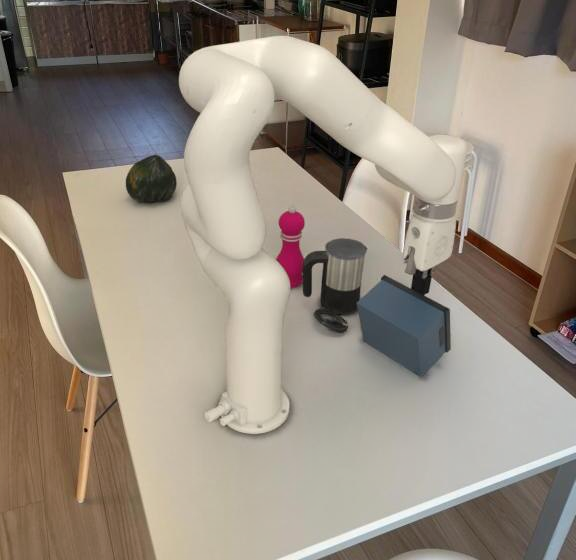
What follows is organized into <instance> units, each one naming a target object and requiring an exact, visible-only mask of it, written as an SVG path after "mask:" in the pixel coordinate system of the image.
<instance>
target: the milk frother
mask: <svg viewBox="0 0 576 560" xmlns="http://www.w3.org/2000/svg"><path fill="white" fill-rule="evenodd" d="M324 248H325V250H315V251H311V252H309V253H308V254H306V256H305V257H303V258H304V260H303V266H302V268H303V273H302V275H303V278H302V293H303V294H302V295H303V296H304V297H306V298H310V297H311V296H312V295H313V294H312V293H313V267H314V266H315V265H316V264H322V275H321V286H320V301H319V302H320V306H321V307H322V308H317V309H315V310H314V312H313V317H314V318H315V319H316V321H317V322H319V323H320V325H322V326H324V327H325V328H327V329H329V330H331V331H333V332H339V333H344V332H346V331H347V330H348V328H349V324H348V322H347V320H346V318H344V317H342V316H340V315H350V314H353V313H355V312H358V309H357V302H358V301H359V300H360V299H361V288H362V280H363V272H364V265H365V257H366V254H367V252H368V247H367V246H366V245H365V244H364V243H363V242H362V241H359V240H356V239H352V238H345V237H343V238H342V237H340V238H334V239H331V240H329V241H327V242H326V243H325V245H324ZM322 315H325V316H329V317H332V318H330V319H329V318H324V317H323V316H322Z"/></svg>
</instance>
